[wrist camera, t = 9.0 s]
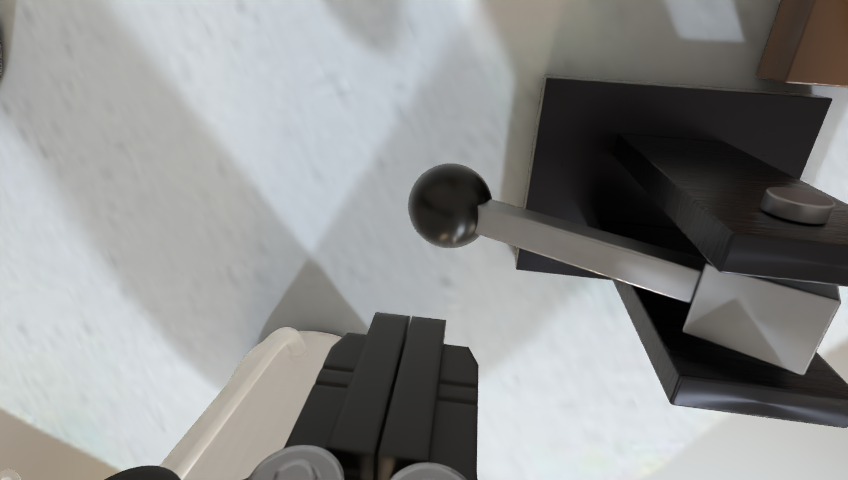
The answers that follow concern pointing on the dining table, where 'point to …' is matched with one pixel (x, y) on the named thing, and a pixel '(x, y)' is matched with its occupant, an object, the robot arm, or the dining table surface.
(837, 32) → the button base
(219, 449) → the coffeepot
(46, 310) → the dining table surface
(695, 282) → the lever
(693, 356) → the lever base
